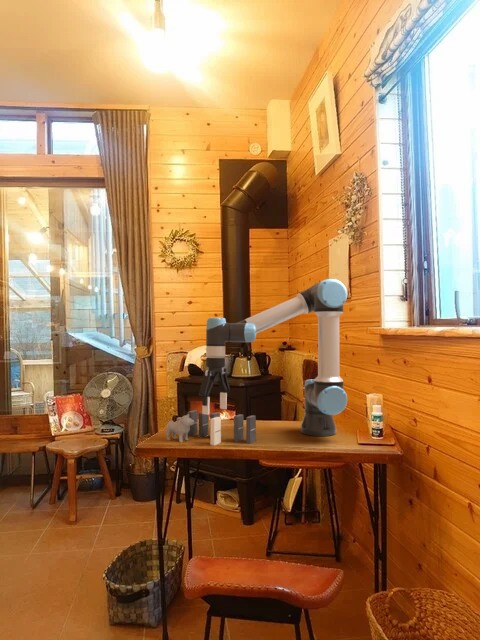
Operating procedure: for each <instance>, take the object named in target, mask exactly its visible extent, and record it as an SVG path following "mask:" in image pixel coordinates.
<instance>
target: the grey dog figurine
mask: <svg viewBox="0 0 480 640" xmlns="http://www.w3.org/2000/svg"><path fill="white" fill-rule="evenodd" d="M193 424H194V420H192V419H191V418H189V414H188V413H186V415H183V416H182V417H181V416H179V417H177V418H176V421H174V420H169V421H168V423H167V424H166V425H165V429H166V441H171V440H172V439H176V438H177V435H178V440H179V441H178V442H179V443H183V438H184V440H185V441H189V436H188V432H189V431H190V426H191V425H193ZM176 434H177V435H176ZM171 435H172V439H171V438H170V437H171Z"/></svg>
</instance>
